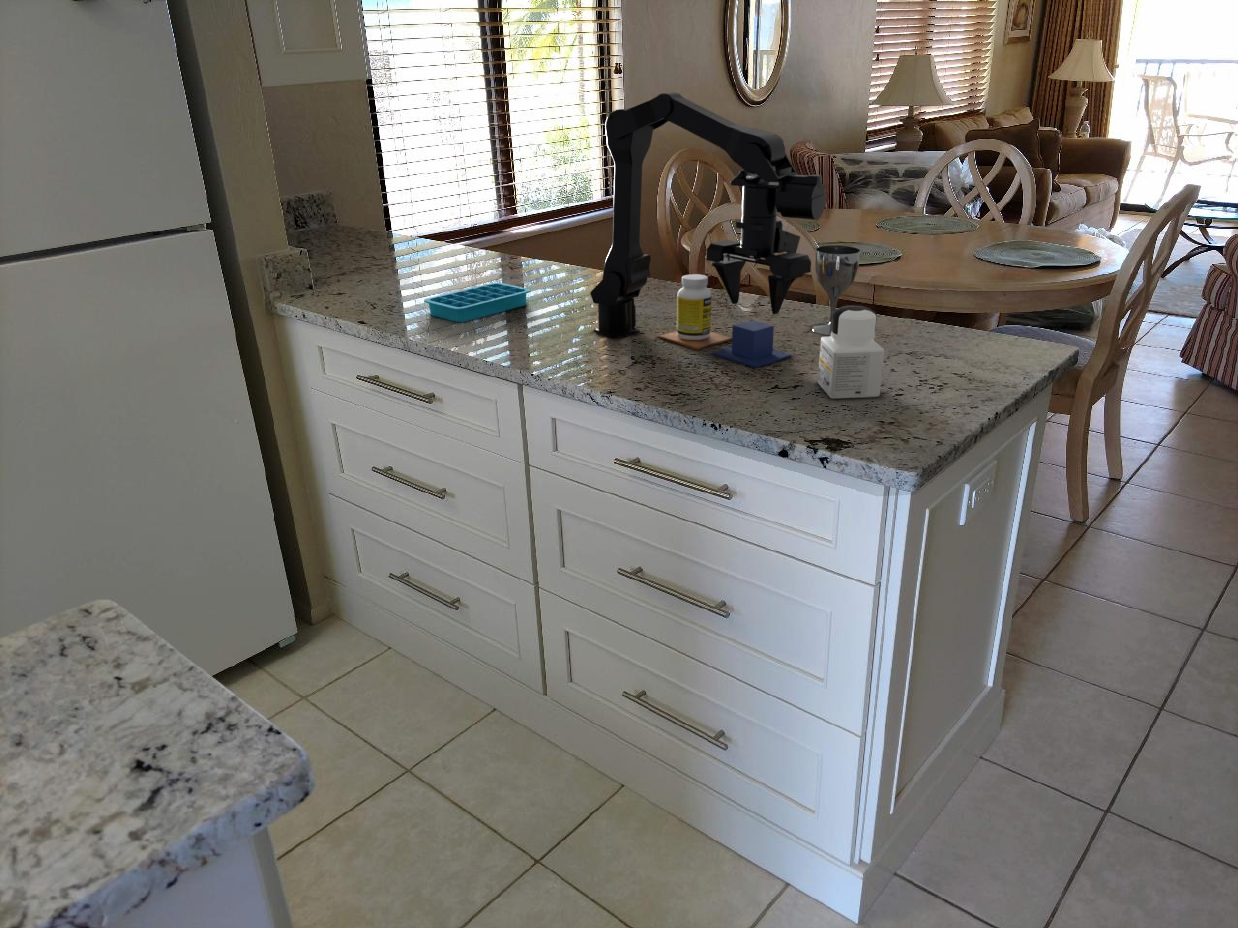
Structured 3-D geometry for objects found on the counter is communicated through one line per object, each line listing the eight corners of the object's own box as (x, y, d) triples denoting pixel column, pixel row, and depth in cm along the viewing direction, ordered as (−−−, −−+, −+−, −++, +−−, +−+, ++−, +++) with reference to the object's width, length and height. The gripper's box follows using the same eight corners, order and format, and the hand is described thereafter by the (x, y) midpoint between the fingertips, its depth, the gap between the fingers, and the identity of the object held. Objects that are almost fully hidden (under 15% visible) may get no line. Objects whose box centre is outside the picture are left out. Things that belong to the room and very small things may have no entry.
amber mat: (697, 349, 170) (697, 347, 170) (658, 337, 177) (658, 335, 177) (732, 339, 175) (732, 337, 175) (693, 328, 182) (693, 326, 182)
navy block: (752, 359, 163) (754, 331, 161) (731, 353, 166) (732, 325, 164) (772, 353, 166) (774, 325, 164) (751, 347, 169) (752, 320, 167)
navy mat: (755, 368, 160) (755, 365, 160) (713, 354, 167) (713, 352, 167) (791, 357, 165) (791, 355, 165) (748, 344, 172) (748, 342, 172)
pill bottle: (708, 342, 173) (710, 281, 168) (674, 340, 174) (675, 280, 169) (712, 332, 178) (714, 273, 174) (679, 331, 179) (680, 272, 175)
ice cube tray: (422, 314, 194) (420, 300, 192) (497, 295, 207) (496, 281, 206) (459, 324, 187) (458, 309, 185) (534, 304, 200) (533, 290, 199)
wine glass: (857, 326, 182) (864, 247, 176) (847, 337, 176) (855, 255, 169) (815, 322, 185) (821, 244, 179) (805, 333, 179) (810, 252, 173)
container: (816, 383, 153) (822, 303, 148) (864, 381, 153) (872, 301, 148) (830, 399, 146) (837, 316, 140) (880, 397, 146) (889, 314, 141)
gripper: (836, 216, 155) (828, 310, 161) (750, 203, 168) (746, 291, 174) (790, 224, 148) (784, 322, 154) (705, 210, 161) (703, 301, 167)
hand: (754, 308), depth 163 cm, fingers open, 9 cm apart
